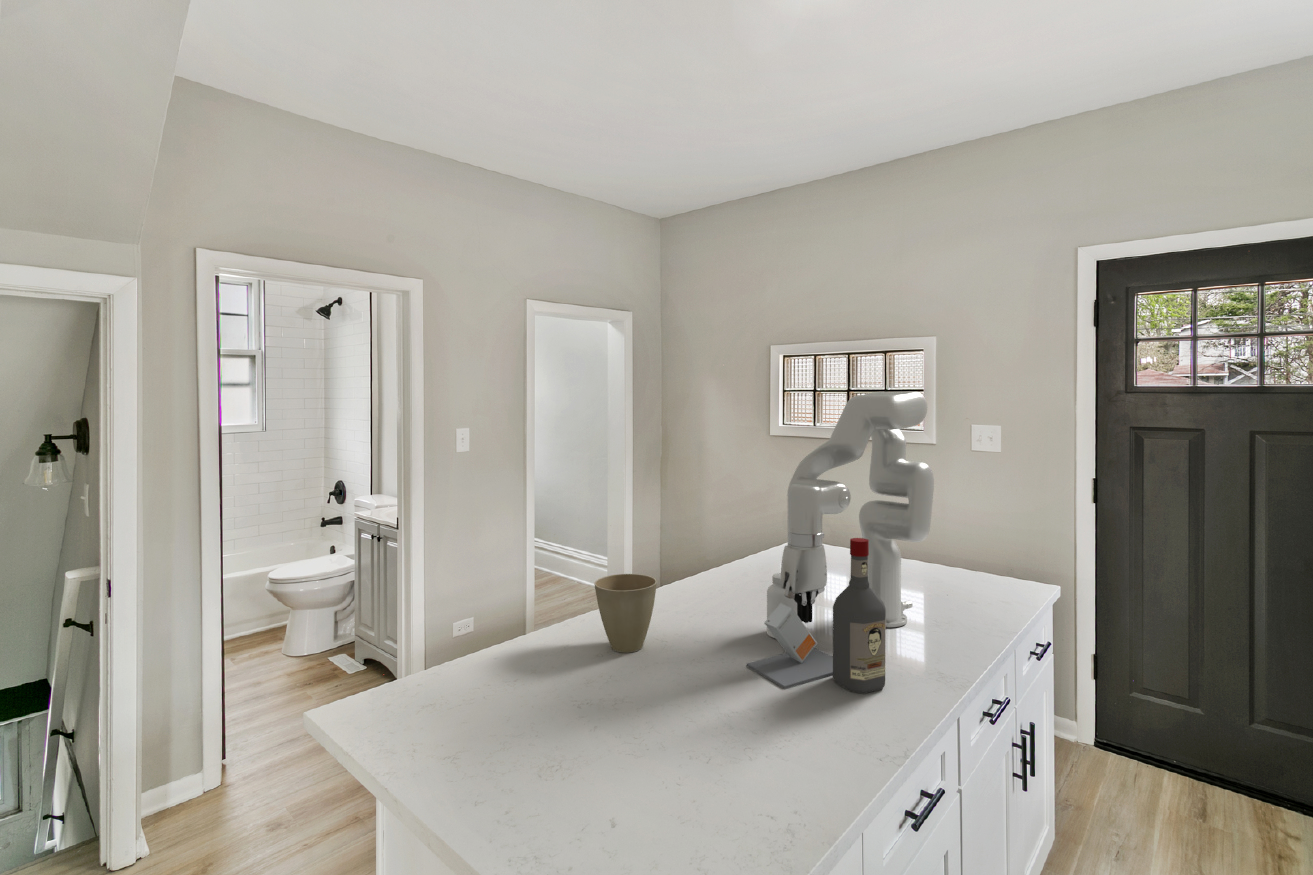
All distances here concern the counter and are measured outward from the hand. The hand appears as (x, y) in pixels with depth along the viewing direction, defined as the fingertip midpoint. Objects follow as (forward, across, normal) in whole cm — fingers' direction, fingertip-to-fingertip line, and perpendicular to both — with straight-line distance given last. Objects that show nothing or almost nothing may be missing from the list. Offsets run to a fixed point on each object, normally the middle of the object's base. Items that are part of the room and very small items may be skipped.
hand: (804, 620), depth 143 cm
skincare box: (+7, 0, 0) cm, 7 cm away
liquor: (+10, -2, +14) cm, 17 cm away
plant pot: (+10, +31, -28) cm, 43 cm away
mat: (+9, +3, +2) cm, 10 cm away
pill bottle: (+10, -6, -15) cm, 19 cm away
